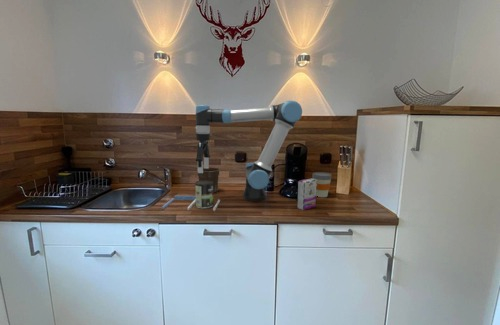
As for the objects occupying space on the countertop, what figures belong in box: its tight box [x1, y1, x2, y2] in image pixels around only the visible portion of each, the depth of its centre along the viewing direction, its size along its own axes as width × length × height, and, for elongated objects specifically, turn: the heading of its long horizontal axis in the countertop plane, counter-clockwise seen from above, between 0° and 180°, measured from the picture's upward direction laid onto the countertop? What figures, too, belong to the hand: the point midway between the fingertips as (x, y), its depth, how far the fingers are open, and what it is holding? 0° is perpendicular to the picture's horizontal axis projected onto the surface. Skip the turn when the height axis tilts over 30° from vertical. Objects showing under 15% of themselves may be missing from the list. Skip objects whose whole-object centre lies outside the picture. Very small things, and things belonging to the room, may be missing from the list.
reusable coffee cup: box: [311, 171, 332, 198], centre depth 161 cm, size 13×13×15 cm
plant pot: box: [196, 167, 221, 194], centre depth 167 cm, size 16×16×16 cm
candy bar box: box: [297, 178, 317, 211], centre depth 137 cm, size 11×5×16 cm, turn 126°
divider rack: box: [161, 194, 221, 212], centre depth 140 cm, size 30×18×2 cm, turn 87°
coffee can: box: [194, 180, 214, 209], centre depth 138 cm, size 10×10×14 cm
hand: (203, 170), depth 136 cm, fingers open, 13 cm apart
